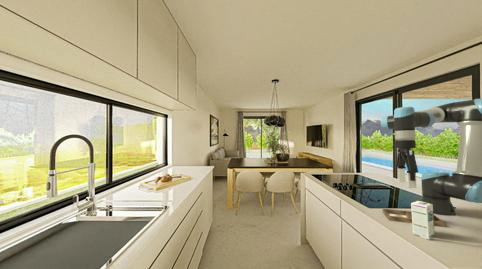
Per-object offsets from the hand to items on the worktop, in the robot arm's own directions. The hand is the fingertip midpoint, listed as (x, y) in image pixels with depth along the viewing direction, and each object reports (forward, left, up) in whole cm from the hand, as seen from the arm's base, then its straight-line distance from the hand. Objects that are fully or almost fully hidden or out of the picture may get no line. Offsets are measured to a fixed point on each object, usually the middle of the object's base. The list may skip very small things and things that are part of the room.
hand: (406, 184), depth 91 cm
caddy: (-6, -15, -22) cm, 27 cm away
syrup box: (-4, +3, -22) cm, 23 cm away
